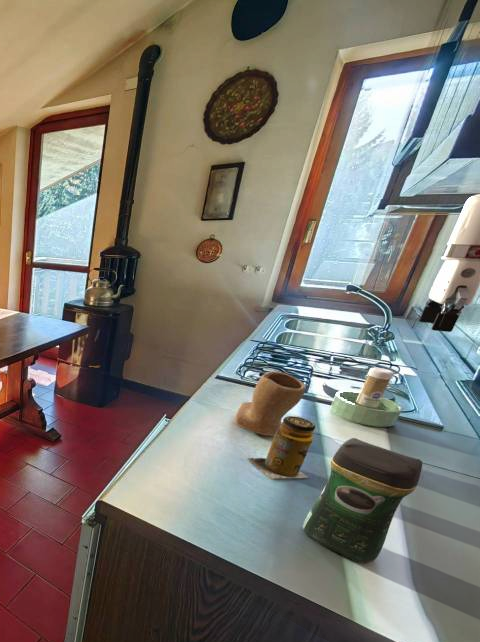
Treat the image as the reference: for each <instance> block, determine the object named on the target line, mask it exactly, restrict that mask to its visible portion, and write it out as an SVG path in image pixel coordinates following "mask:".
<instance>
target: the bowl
mask: <svg viewBox="0 0 480 642" xmlns="http://www.w3.org/2000/svg"><path fill="white" fill-rule="evenodd" d="M359 393H360V391H357V390H339V391H337V392H336V393H335V395H334V397H333V399H332V402H331V404H330V405H329V408H330V410H331V411H332V412H333V414H336V415H337V416H338V417H340V418H342V419H345V420H347V421H349V422H351V423H356V424H360V425H364V426H369V427H374V428H375V427H376V428H377V427H378V428H384V427H392V426H395V424H396V423H397V421H398V419H399V417H400V415H401V413H402V411H403V409H404V408H403V407H402V405H400V404H399V403H397V402H396V401H393V400H391V399H389V398H386V397H383V396H382V399H381V401H380V403H379V405H378V407H377V408H376V409H371V408H366V407H363V406H359V405H356V404H355V403H356V400H357V398H358V395H359Z"/></svg>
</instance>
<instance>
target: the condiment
mask: <svg viewBox="0 0 480 642" xmlns="http://www.w3.org/2000/svg"><path fill="white" fill-rule="evenodd" d="M315 429H316V424H315V423H314V422H312V421H311V420H309V419H306V418H304V417H300V416H296V415H295V416H292V415H288V416H285V417H283V418H282V421H281V426H280V427H279V428H278V429H277V431H276V434H275V435H273V439H272V442H271V444H270V447H269V449H268V453H267V455H266V457H258V458H255V457H247V458H246V459H247V460H248V461H249V462H250V464H252V465H253V466H254V467H256V468H257V469H258V470H259V471H260V472H262V473H263V474H264V475H265V476H267V477H268V478H269V479H271V480H272V479H309V476H308V475H306V474H305V473H303V472H301V471H300V470H301V468H302V466H303V464H304V461H305V459H306V456H307V454H308V452H309V449H310V447H311V445H312V443H313V440H314V437H313V434H314V431H315Z"/></svg>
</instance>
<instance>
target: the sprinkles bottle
mask: <svg viewBox="0 0 480 642" xmlns="http://www.w3.org/2000/svg"><path fill="white" fill-rule="evenodd" d="M394 375H395V372H394V371H392V370H390V369H387V368H383V367H371V368H369V370H368V373H367V376H366V378H365V381H364V383H363V384H362V386H361V389H360V391H359V392H360V393H359V395H358V398H357V400H356V403H355V404H356V405H359V406H363V407H366V408H371V409H376V408H377V407H378V405H379V403H380V401H381V399H382V397H383V396H384V394H385V392H386V389H387V387H388V385H389V383H390V381H391V380H392V379H393V377H394Z"/></svg>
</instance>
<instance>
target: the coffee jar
mask: <svg viewBox="0 0 480 642" xmlns="http://www.w3.org/2000/svg"><path fill="white" fill-rule="evenodd" d="M422 469H423V461H422V459H420V458H417V457H411V456H408V455H405V454H402V453H399V452H397V451H393V450H390V449H387V448H385V447H381V446H378V445H376V444H373V443H369V442H366V441H363V440H360V439H358V438H356V437H351V438H349V439H347V440H345V441H344V442H343V443H342V444H341V446H340V447H339V448H338V449H337V451H336V452H335V454H334V455H333V456H332V457H331V460H330V475H329V477H328V480H327V482H326V483H325V486H324V487H323V490H322V491H321V494H320V495H319V496H318V498H317V499H316V501H315V503H314V504H313V506H312V507H311V509H310V510H309V512H308V514H307V516H306V518H305V519H304V521H303V524H302V530H303V532H304V533H305V535H306V536H307V537H308V538H309V539H311V540H313V541H314V540H315V542H316V541H317V542H316V543H318V542H319V543H320V545H321V544H322V545H321V546H323V545H324V546H323V547H325V546H326V547H325V548H327V547H328V548H327V549H329V548H330V549H329V550H331V549H332V550H331V551H333V552H334V551H335V553H336V552H337V554H338V553H339V554H338V555H341V556H343V557H345V558H347V559H349V560H351V561H354V562H357V563H371V562H373V561H376V559H377V558H378V557H379V555H380V553H381V551H382V549H383V547H384V544H385V542H386V539H387V536H388V532H389V531H390V526H391V524H392V521H393V519H394V516H395V514H396V511H397V509H398V507H399V505H400V504H401V503H402V501H403V499H404V498H405V497H407V496H409V495H410V494H412V493H413V492H414V491H415V490H416V488H417V486H418V485H419V481H420V479H421V478H420V477H421V473H422ZM319 543H318V544H319Z"/></svg>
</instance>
